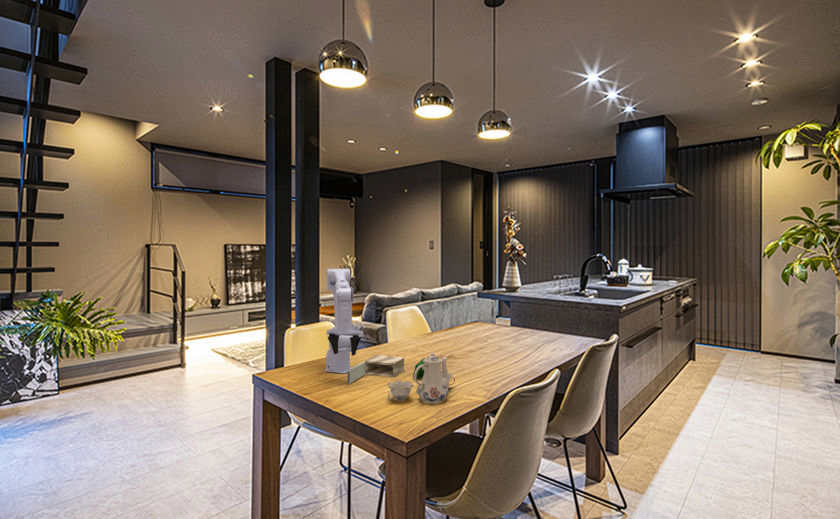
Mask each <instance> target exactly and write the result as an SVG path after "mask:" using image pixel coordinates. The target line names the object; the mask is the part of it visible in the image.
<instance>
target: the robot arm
mask: <svg viewBox="0 0 840 519" xmlns="http://www.w3.org/2000/svg"><path fill="white" fill-rule="evenodd" d="M326 281H327V288H328V290H330V291H331V292H332V296H333V306H334V308H333V309H334V311H333V312H334V326H333V327H332V328H330V329H329V328H328V329H327V330H326V336H327V340H328V347H329V349H328V350H327V351H326V355H325V372H327V373H335V374H336V373H338V374H346V373H347V372H348V370H350V369H351V368H353V367H354V366H351V356H352V357H353V356H356V353H357V350H358V346H359V343H360V341H361V339H362V337H364V332H363V330H357V329H353V301H354V289H353V287H352V286H351V287H350V282H351V269H350V268H347V267H346V268H328V269H327V270H326ZM350 355H351V356H350Z"/></svg>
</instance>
